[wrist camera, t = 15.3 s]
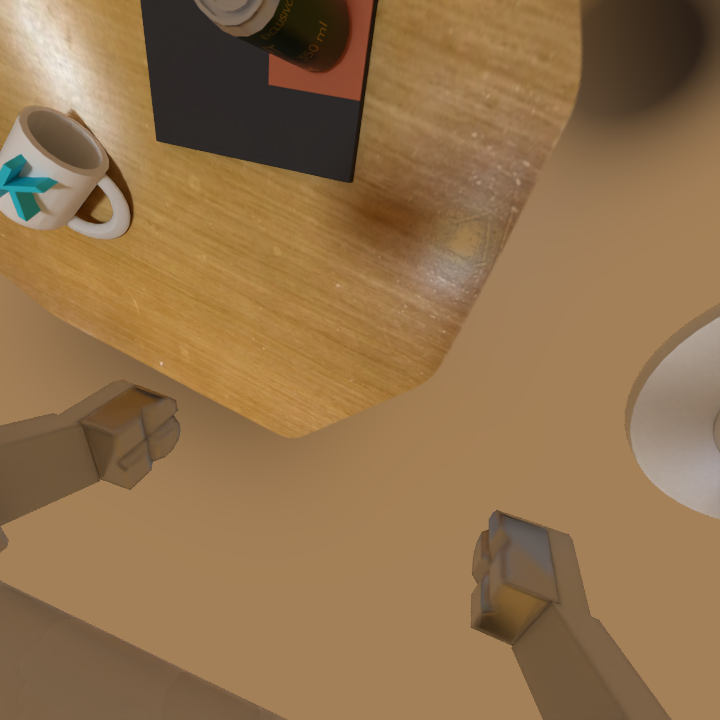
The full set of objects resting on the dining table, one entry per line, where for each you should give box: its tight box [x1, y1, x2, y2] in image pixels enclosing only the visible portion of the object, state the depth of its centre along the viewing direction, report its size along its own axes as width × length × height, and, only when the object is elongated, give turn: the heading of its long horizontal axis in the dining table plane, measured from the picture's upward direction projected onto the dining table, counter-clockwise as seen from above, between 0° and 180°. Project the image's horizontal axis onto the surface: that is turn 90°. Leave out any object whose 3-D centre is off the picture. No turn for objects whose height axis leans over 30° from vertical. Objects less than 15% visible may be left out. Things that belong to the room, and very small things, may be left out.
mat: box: [141, 0, 378, 183], centre depth 31 cm, size 20×14×1 cm
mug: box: [0, 105, 131, 239], centre depth 39 cm, size 12×9×12 cm
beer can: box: [194, 0, 349, 72], centre depth 23 cm, size 5×5×12 cm
